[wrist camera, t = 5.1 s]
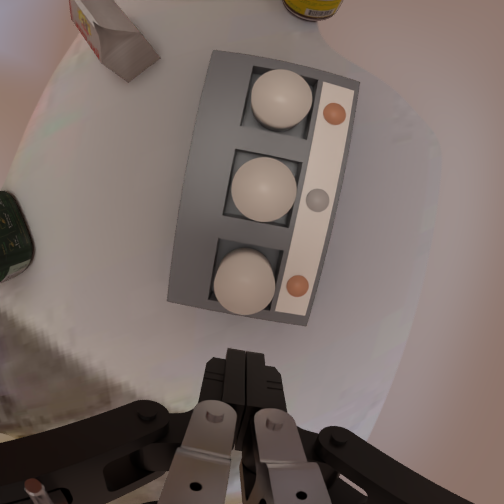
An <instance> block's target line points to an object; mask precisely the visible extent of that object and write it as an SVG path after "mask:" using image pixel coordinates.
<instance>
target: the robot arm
mask: <svg viewBox="0 0 504 504" xmlns="http://www.w3.org/2000/svg"><path fill="white" fill-rule="evenodd" d="M234 444H235V450H238V451H242V459H241V462H240V466H239V470H240V481H241V492H242V503H243V504H474V503H472V502H470V501H468V500H466V499H464V498H462V497H460V496H458V495H456V494H454V493H452V492H450V491H448V490H447V489H445V488H443V487H441V486H439V485H437V484H435V483H433V482H432V481H430V480H428V479H426V478H425V477H423V476H421V475H419V474H418V473H416V472H414V471H413V470H411V469H409V468H408V467H406V466H404V465H403V464H401V463H399V462H398V461H396V460H394V459H393V458H391V457H389V456H388V455H386V454H385V453H383V452H381V451H380V450H378V449H377V448H375V447H374V446H372V445H371V444H369V443H367V442H366V441H364V440H363V439H361V438H360V437H358V436H357V435H355V434H354V433H352V432H351V431H349V430H347V429H345V428H342V427H338V426H329V427H326V428H324V429H322V430H321V431H320V433H319V434H318V433H314V432H310V431H307V430H304V429H301V428H299V427H298V426H296V423H295V420H294V419H293V417H292V416H291V415H289V414H288V413H287V408H286V403H285V397H284V391H283V385H282V379H281V374H280V373H279V372H278V371H277V369H276V368H275V367H271V366H265V359H264V354H262V353H255V352H249V351H246V353H245V351H243V350H237V349H231V348H228V349H227V354H226V359H220V358H215V357H213V358H212V359H211V360H209V361H208V362H207V363H206V368H205V373H204V378H203V382H202V387H201V392H200V397H199V401H198V404H197V405H196V406H195V408H194V409H192V410H190V411H188V412H185V413H169V412H168V410H167V409H166V408H165V407H164V406H163V405H161V404H159V403H157V402H154V401H150V400H138V401H134V402H132V403H129V404H126V405H124V406H121V407H118V408H116V409H113V410H110V411H107V412H104V413H101V414H99V415H96V416H93V417H90V418H87V419H84V420H81V421H78V422H74V423H71V424H68V425H65V426H62V427H58V428H55V429H52V430H48V431H45V432H41V433H38V434H34V435H30V436H27V437H23V438H19V439H15V440H11V441H7V442H3V443H0V504H106V503H108V502H110V501H112V500H115V499H117V498H119V497H121V496H123V495H125V494H127V493H129V492H131V491H134V490H136V489H138V488H139V487H141V486H143V485H145V484H147V483H149V482H151V481H153V480H155V479H157V478H159V477H160V476H162V475H163V474H164V473H165V472H166V471H169V472H168V475H167V478H166V480H165V483H164V486H163V489H162V492H161V494H160V497H159V500H158V501H152V502H146V503H143V504H224V503H225V497H226V491H227V485H228V478H229V472H230V466H231V459H230V457H231V451H232V450H233V448H234ZM340 474H342V475H343V476H345V477H346V478H347V479H349V480H350V481H352V482H353V483H355V484H356V485H357V486H359V487H360V488H362V489H363V490H364V491H365V492H366V493H367V495H368V497H367V496H365V495H363V494H362V493H360V492H359V491H357V490H356V489H354V488H353V487H352V486H350V485H349V484H347V483H346V482H344V481H343V480H342V479H340V478H339V476H340Z"/></svg>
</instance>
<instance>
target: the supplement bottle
mask: <svg viewBox="0 0 504 504" xmlns="http://www.w3.org/2000/svg"><path fill="white" fill-rule="evenodd" d="M283 2H284V4H285V6H286V7H287V9H288V10H289V11H290V12H292V13H293V14H294V15H296V16H298V17H300V18H303V19H306V20H311V21H321V20H325V19H328V18H330V17H332V16H333V15H334V14H335V13H336V12H337V11H338V9H339V7H340V6H341V4H342V2H343V0H283Z"/></svg>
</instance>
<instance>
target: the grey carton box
mask: <svg viewBox="0 0 504 504" xmlns="http://www.w3.org/2000/svg"><path fill="white" fill-rule="evenodd" d="M69 4H70V13H71V19H72V21H73V22H74V24H75V25H76V27H77V28H78V29H79V31H80V32H81V34H82V35H83V37H84V38H85V40H86V41H87V43H88V44H89V46H90V47H91V48H92V50H93V51H94V53H95V54H96V56H97V57H98V59H99V60H100V61H101V63H102V64H104V65H105V66H106V67H108V68H109V69H111V70H112V71H113V72H115V73H116V74H117V75H119V76H120V77H122V78H123V79H124V80H126V81H127V82H128V83H129V82H130V81H131V80H132V79H134V78H135V77H136V76H137V75H139V74H140V73H141V72H143V71H144V70H145V69H147V68H148V67H149V66H151V65H152V64H153V63H155V62H156V61H157V60H159V59H160V57H159V56H158V54H157V53H156V52H155V50H154V49H153V48H152V47H151V45H150V44H149V43H148V42H147V40H146V39H145V38H144V37H143V35H142V34H141V33H140V32H139V30H138V29H137V28H136V27H135V25H134V24H133V23H132V22H131V21H130V19H129V18H128V17H127V16H126V15H125V14H124V12H123V11H122V10H121V9H120V8H119V6H118V5H117V4H116V3H115V2H114V1H113V0H69Z"/></svg>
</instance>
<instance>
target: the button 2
mask: <svg viewBox="0 0 504 504" xmlns="http://www.w3.org/2000/svg"><path fill="white" fill-rule="evenodd" d="M311 105H312V92H311V89H310V87H309V85H308V84H307V82H306V81H305V80H304V79H303V78H302V77H301V76H300V75H298V74H296V73H294V72H292V71H289V70H283V69H278V70H272V71H269V72H266V73H265V74H263V75H262V76H260V77H259V78H258V79H257V81H256V82H255V84H254V86H253V88H252V93H251V109H252V113H253V115H254V117H255V119H256V120H257V121H258V123H260V124H261V125H262V126H263V127H265V128H267V129H270V130H273V131H285V130H289V129H291V128H293V127H295V126H296V125H297V124H298V123H299V122H300V121H301V120H302V119H303V118H304V117H305V116H306V115H307V113H308V112H309V110H310V108H311Z"/></svg>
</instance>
